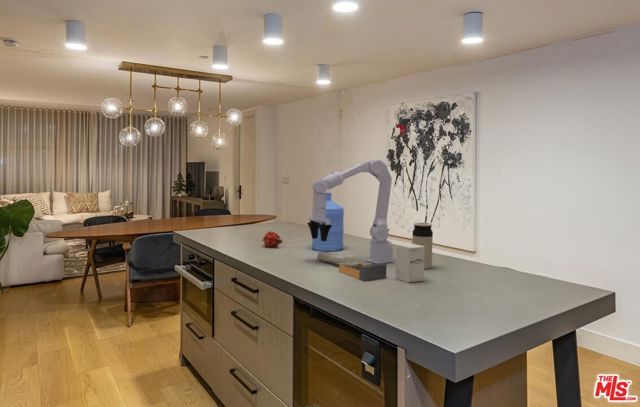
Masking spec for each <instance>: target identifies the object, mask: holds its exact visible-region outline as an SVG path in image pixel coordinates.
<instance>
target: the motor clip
mask: <svg viewBox="0 0 640 407" xmlns="http://www.w3.org/2000/svg"><path fill="white" fill-rule="evenodd" d="M357 263H358V265H357V270H355V269H353V268H350V267H347V266H344V265H343V264H339V265H338V271H339V272H340V273H343V274H346V275H348V276H350V277H353V278H356V279H358V280H360V281H363V282H369V281H374V280H382V279H386V278H387V263H377V264H376V263H371V264H365V263H361V262H357Z"/></svg>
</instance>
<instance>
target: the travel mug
mask: <svg viewBox="0 0 640 407" xmlns="http://www.w3.org/2000/svg"><path fill="white" fill-rule="evenodd" d="M413 226H414V228H413V230H412V239H411V241H412V243H411V244H416V245H420V246H424V247H425V255H424V270H429V269H432V267H433V234H434V232H433V230H432V226H433V224H432V223H429V222H414V223H413Z"/></svg>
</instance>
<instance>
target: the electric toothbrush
mask: <svg viewBox="0 0 640 407" xmlns="http://www.w3.org/2000/svg"><path fill="white" fill-rule="evenodd" d="M316 257H317V261H320V262H323V263H339V264H342V265H344V266H347V267H350V268H353V269H355V270H358V269H357V265H358V263H359V262H357V261H356V257H355V255H353V254H351V255H346V254H345V255H344V254H340V253H339V254H337V253H333V252H332V253H331V252H326V251H319V252H318V253H317V256H316Z"/></svg>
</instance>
